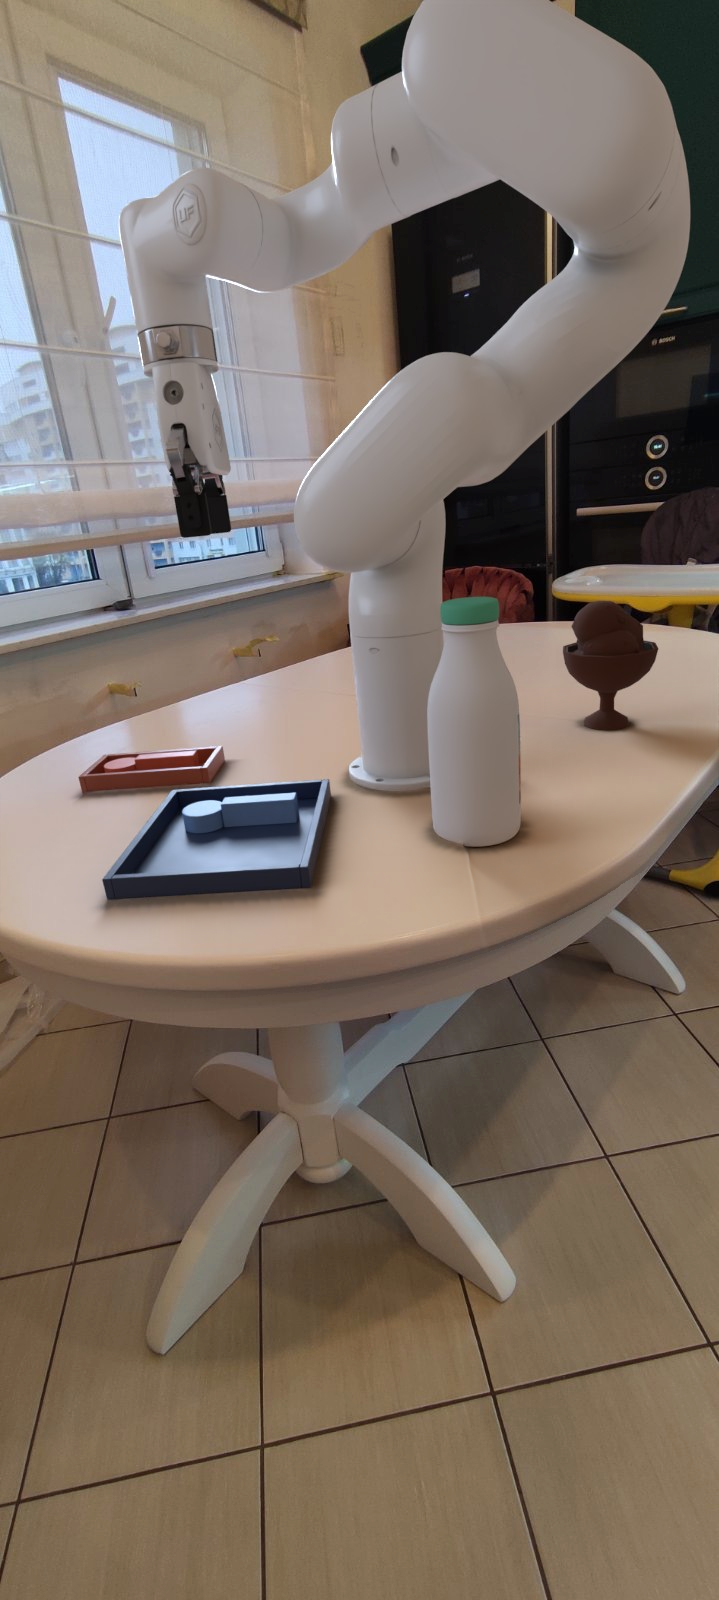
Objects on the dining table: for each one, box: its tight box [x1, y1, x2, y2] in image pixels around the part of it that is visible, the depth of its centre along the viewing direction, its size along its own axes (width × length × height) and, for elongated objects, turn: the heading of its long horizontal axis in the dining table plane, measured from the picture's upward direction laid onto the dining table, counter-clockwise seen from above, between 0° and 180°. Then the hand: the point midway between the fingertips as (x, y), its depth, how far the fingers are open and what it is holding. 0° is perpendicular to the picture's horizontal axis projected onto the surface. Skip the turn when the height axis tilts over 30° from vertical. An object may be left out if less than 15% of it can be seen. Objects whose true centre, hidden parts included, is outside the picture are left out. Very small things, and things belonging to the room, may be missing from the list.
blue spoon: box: [182, 793, 299, 834], centre depth 69 cm, size 11×4×2 cm, turn 88°
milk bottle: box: [427, 596, 522, 848], centre depth 61 cm, size 8×8×20 cm
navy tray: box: [101, 778, 332, 901], centre depth 66 cm, size 16×19×2 cm
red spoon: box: [104, 751, 200, 773], centre depth 85 cm, size 11×4×2 cm, turn 88°
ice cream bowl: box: [562, 600, 659, 731], centre depth 87 cm, size 11×11×15 cm
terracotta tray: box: [78, 745, 226, 795], centre depth 85 cm, size 15×8×2 cm, turn 88°
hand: (207, 534), depth 80 cm, fingers open, 9 cm apart
